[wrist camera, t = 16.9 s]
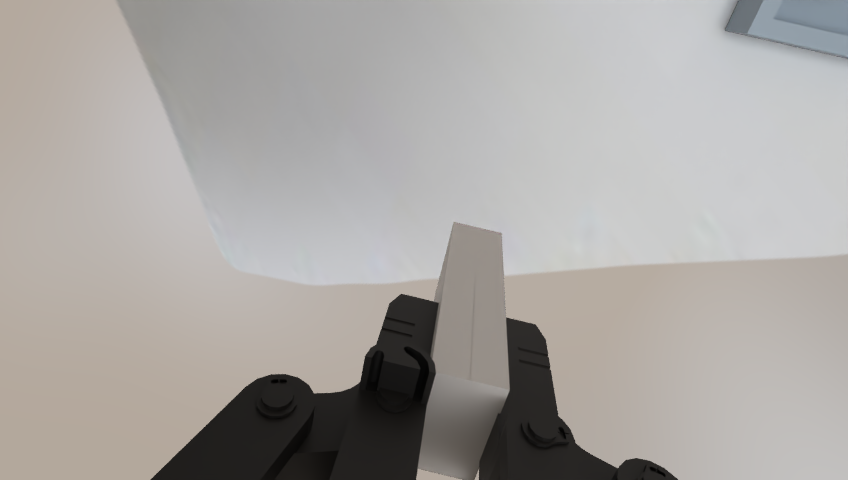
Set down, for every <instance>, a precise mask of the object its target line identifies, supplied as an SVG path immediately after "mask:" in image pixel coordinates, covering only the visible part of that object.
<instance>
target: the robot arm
mask: <svg viewBox="0 0 848 480" xmlns="http://www.w3.org/2000/svg"><path fill="white" fill-rule="evenodd" d="M505 310H506V309H505V290H504V271H503V252H502V233H498V232H494V231H490V230H486V229H482V228H477V227H473V226H469V225H465V224H460V223H456V222H454V223H453V227H452V231H451V235H450V239H449V243H448V247H447V251H446V255H445V258H444V262H443V266H442V270H441V274H440V278H439V282H438V286H437V289H436V293H435V299H434V302H433V301H429V300H425V299H421V298H417V297H412V296H408V295H403V294H401V295H399V296H398V297H397V298H396V299H395V300H393V301H392V302H391V303H390V304H389V307H388V310H387V313H386V316H385V320H384V322H383V326H382V329H381V332H380V335H379V338H378V341H377V344H376V345H375V346H373V347H372V348H370V350H369V352H368V353H367V354H366V356H365V360H364V365H363V371H362V376H361V381H360V383H359V384H357V385H356V386H354V387H352V388H351V389H348V390H345V391H342V392H335V393H317V394H314V393H313V391H312V390H311V388H310V386H309V385H308V384H307V383H305V382H304V381H302V380H301V379H299V378H297V377H293V376H290V375H286V374H276V375H268V376H265V377H262V378H259V379H256V380H255V381H254V382H252V383H251V384H249V385H248V386H246V387H245V388H244V389H243V390H242V391H241V392H240V393H239V394H238V395H237V396H236V397H235V398H234V399H233V400H232V401H231V402H230V403H229V404H228V405H227V406H226V407H225V408H224V409H223V410H222V411H221V412H220V413H218V414H217V415H216V416H215V418H213V419H212V420H211V421H210V422H209V423H208V424H207V425H206V426H205V427H204V428H203V429H202V430H201V431H200V432H199V433H198V434H197V435H196V436H195V437H194V438H193V439H192V440H191V441H190V442H189V443H188V444H187V445H186V446H185V447H184V448H183V449H182V450H181V451H179V452H178V453H177V454H176V455H175V456H174V457H173V458H172V459H171V460H170V461H169V462H168V463H167V464H166V465H165V466H164V467H163V468H162V469H161V470H160V471H159V472H158V473H157V474H156V475H155V476H154V477H153V478H152V479H151V480H416V476H417V469H421V470H425V471H430V472H434V473H438V474H442V475H446V476H450V477H454V478H458V479H462V480H474V479H475V477H476V474H477V471H478V469H479V480H678V479H677V478H675V477H674V476H673V475H672V474H671V473H669V472H668V471H667V470H665V469H664V468H662V467H661V466H659V465H657V464H654V463H653V462H651V461H647V460H643V459H638V458H635V459H630V460H626V461H624V462H623V463H622V465H620V466H619V468H616V467H614V466H612V465H610V464H608V463H606V462H604V461H602V460H601V459H599V458H597V457H595V456H593V455H591V454H590V453H588V452H586V451H585V450H583V449H582V448H580V447H579V446H578V445H577V444H576V443H575V440H574V437H573V435H572V433H571V430H570V428H569V427H568V426H567V425H566V424H565V422H564V421H563V420H562V419H561V418H560V417H558V411H557V405H556V399H555V394H554V388H553V381H552V375H551V370H550V363H549V358H548V351H547V345H546V340H545V338H544V336H543V335H542V333H541V332H540V330H539V329H538V327H537V326H536V325H535V324H531V323H526V322H523V321H518V320H514V319H510V318H506V311H505Z"/></svg>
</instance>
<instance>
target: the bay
mask: <svg viewBox="0 0 848 480" xmlns="http://www.w3.org/2000/svg"><path fill="white" fill-rule="evenodd" d="M725 31H729V32H734V33H738V34H742V35H747V36H751V37H756V38H760V39H764V40H769V41H773V42H777V43H782V44H786V45H791V46H795V47H799V48H804V49H808V50H812V51H817V52H821V53H826V54H830V55H834V56H839V57H843V58H848V0H739V1H738V3H737V5H736V8H735V10H734V12H733V14H732V16H731V18H730V20H729V23H728V25H727V27H726V29H725Z"/></svg>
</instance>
